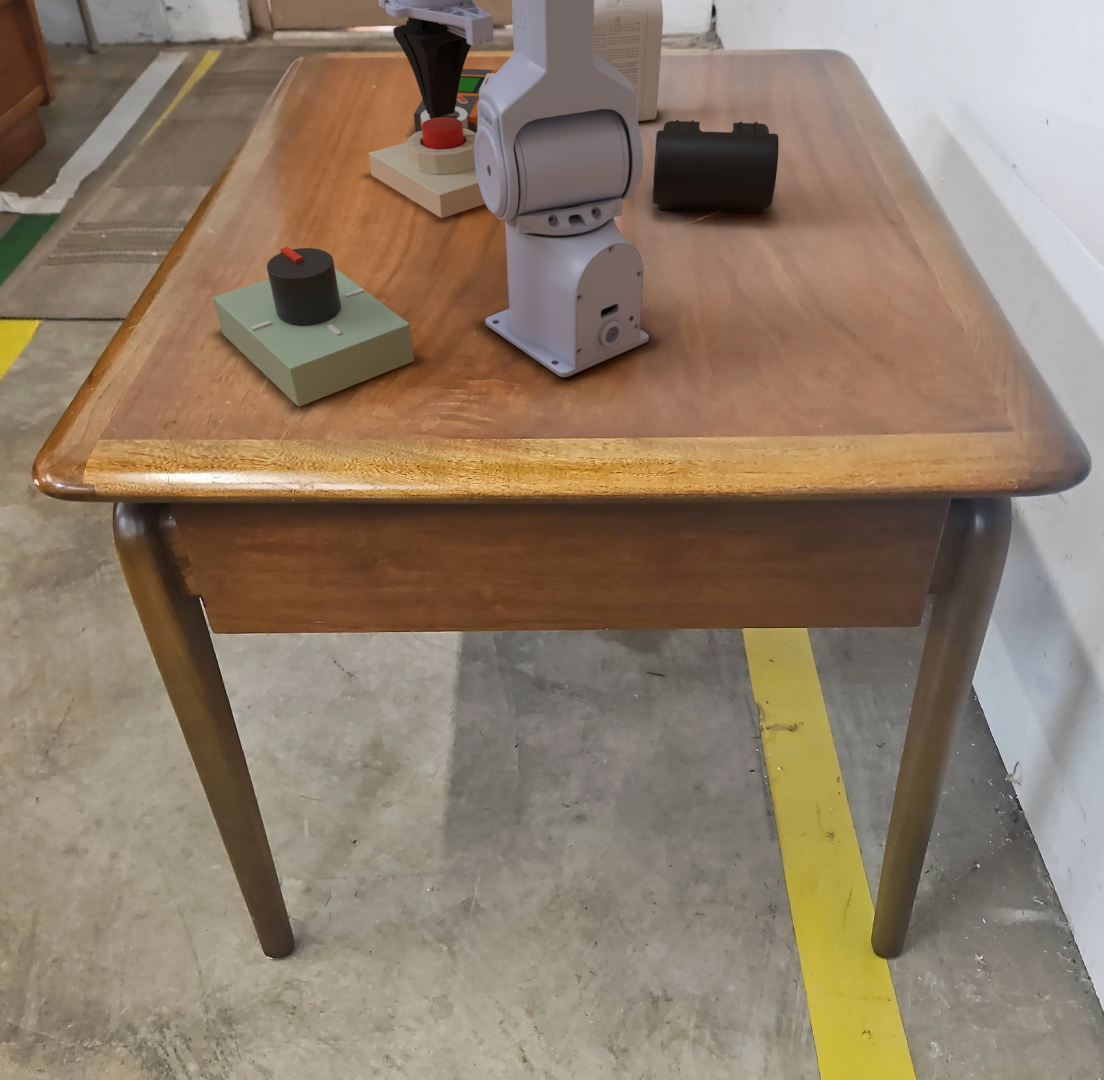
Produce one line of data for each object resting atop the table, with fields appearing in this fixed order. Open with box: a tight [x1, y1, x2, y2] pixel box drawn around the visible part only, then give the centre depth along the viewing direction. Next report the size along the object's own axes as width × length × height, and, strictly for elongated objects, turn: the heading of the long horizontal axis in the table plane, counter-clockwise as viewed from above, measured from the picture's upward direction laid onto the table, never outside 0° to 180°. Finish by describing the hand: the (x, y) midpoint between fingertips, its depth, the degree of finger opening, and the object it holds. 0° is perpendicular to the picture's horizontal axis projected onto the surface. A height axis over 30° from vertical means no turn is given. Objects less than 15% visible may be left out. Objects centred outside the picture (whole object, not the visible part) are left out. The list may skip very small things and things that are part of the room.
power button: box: [422, 117, 464, 150], centre depth 91 cm, size 4×4×2 cm
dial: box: [266, 246, 341, 325], centre depth 69 cm, size 4×4×4 cm
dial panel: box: [212, 267, 415, 407], centre depth 72 cm, size 12×9×3 cm
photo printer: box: [594, 0, 664, 122], centre depth 101 cm, size 10×4×12 cm, turn 103°
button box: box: [368, 129, 486, 219], centre depth 92 cm, size 12×9×4 cm
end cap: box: [652, 119, 780, 214], centre depth 87 cm, size 10×7×7 cm
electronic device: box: [413, 68, 499, 133], centre depth 105 cm, size 7×3×15 cm
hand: (441, 113), depth 89 cm, fingers closed
